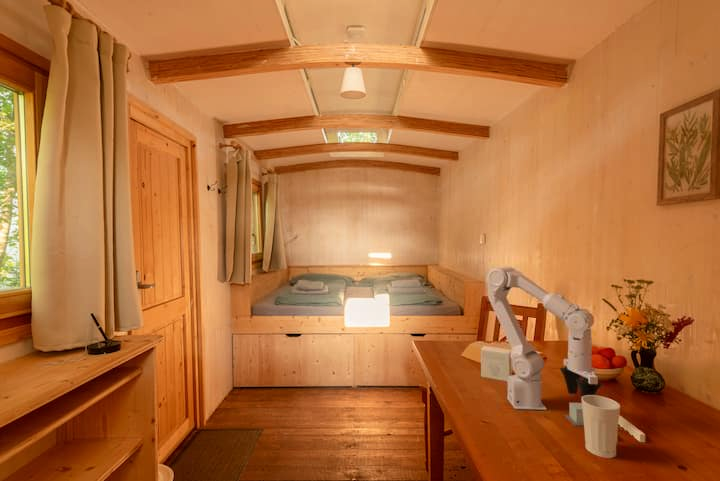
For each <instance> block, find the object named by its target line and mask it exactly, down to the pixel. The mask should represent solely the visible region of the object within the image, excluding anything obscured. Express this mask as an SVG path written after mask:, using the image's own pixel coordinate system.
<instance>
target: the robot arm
mask: <svg viewBox="0 0 720 481" xmlns="http://www.w3.org/2000/svg"><path fill="white" fill-rule="evenodd" d="M487 274H488V275H487V276H486V278H485V281H486V283H487V298H488V301H489V302H490V304H491V307H492V309H493V312H494V314H495V316H496V317H497V320H498V323H499V324H500V326H501V328H502V331H503V333H504V335H505V337H506V340H507V342H508V344H509V345H510V348H511V349H510V350H511V355H510V357H511V359H512V367H513V372H514V374H513V375H512V376H509V377H508V382H507V397H506V399H507V400H508V402H509V403H510V404H511V405H512V407H513V408H514V409H515V410H531V411H532V410H538V411H539V410H540V411H547V407H546V406H545V405H544V404H543V403H542V375H541V371H542V370H543V369H544V367H545V361H544V358H543V357H542V355H540V354H539V353H538V351H536V348H535V347H534V346H533V345H531V344H530V342H528V340H527V338H526V336H525V334H524V331H523V330H522V328H521V327H522V326H521V325H520V323H519V321H518V319H517V317H516V314H515V313H514V311H513V308H512V307H511V304H510V303H509V300H508V298H507V296H508V294H509V292H510V290H511V289H512V288H519V289H521V290H522V291H524V292H525V293H527V294H529V295H530V296H532V297H533V298H535V299H537V300H539V301H540V302H541V303H542V306H543V308H544V309H545V310H547V311H548V312H549V313H551V314H552V315H554V317H557V318H558V319H559V320H561V321H562V322H564V324H565V326H566V328H568V336H567V337H568V340H567V342H568V343H567V344H568V345H567V352H568V353H567V358H563V366H564V367H560V372H561V373H562V376H563V378H564V381H565V385H566V389H567V393H568V394H569V395H570V394H571V395H577V394H578V391H579V392H580V403H582V399H581V398H582V397H583V396H585V395H596V394H597V391H598V390H599V388H601V385H602V384H601V382H600V381H598V380H599V377H598V376H597V375H596V374H595V372H596V368H595V367H593V366H592V348H593V347H592V343H593V342H592V328H591V327H592V326H593V325H594V324H595V317H594V314H592V312H590V311H589V310H588V309H586V308H580V305H578V304H574V303H572V302H571V301H569V300H568V299H566V298H565V295H563V294H562V293H559V294H558V293H557V292H552V293H549V292H548V291H547V290H545V289H544V288H543V287H541V286H539V285H538V284H537V283H536V282H534V281H532V280H531V278H529V277H528V276H526V275H525V274H523V273H522V272H521V271H519V270H517V269H515V268H514V267H512V266H505V267H501V268H500V267H495V268H492V269H491V270H490V271H488V273H487ZM582 378H583V379H582Z"/></svg>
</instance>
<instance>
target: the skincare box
mask: <svg viewBox="0 0 720 481" xmlns="http://www.w3.org/2000/svg"><path fill="white" fill-rule="evenodd" d="M510 355H511V349H509V348H508V349H507V348H503V347H502V348H501V347H495V346H488V345H484V346H483V347H482V348H481V349H480V371H481V372H480V377H482V378H486V379H492V380H498V381H501V382H502V381H504V382H507V383H508V377H509V376H512V372H511V360H512V359H511V357H510Z"/></svg>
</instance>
